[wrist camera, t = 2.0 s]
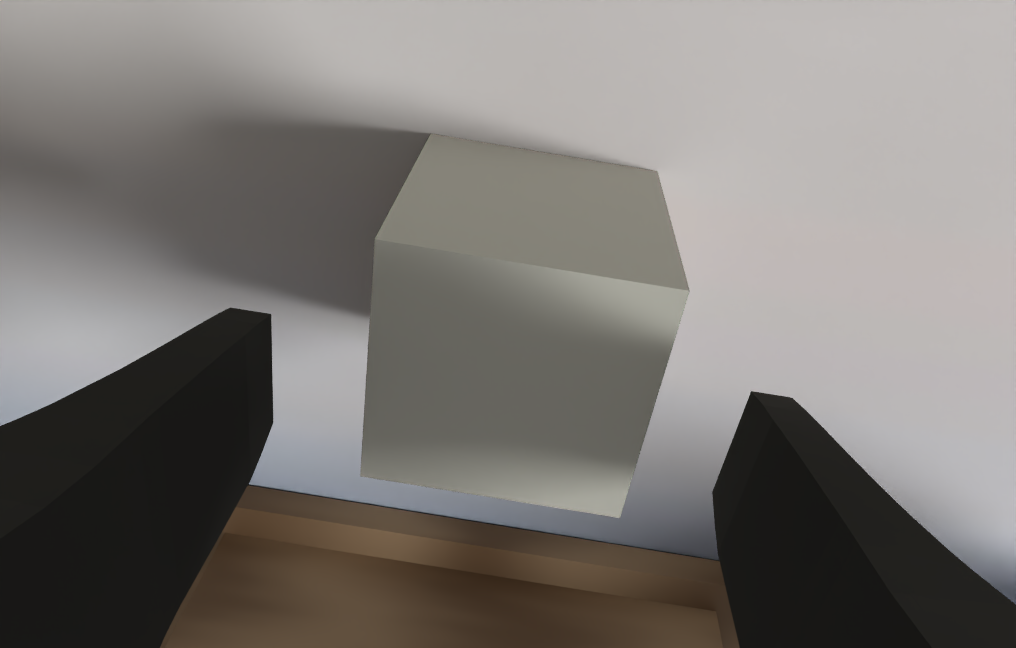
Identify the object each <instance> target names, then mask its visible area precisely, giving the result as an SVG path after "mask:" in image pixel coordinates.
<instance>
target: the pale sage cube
mask: <svg viewBox="0 0 1016 648" xmlns="http://www.w3.org/2000/svg"><path fill="white" fill-rule="evenodd" d="M688 295H689V287H688V283H687V279H686V276H685V272H684V268H683V265H682V261H681V257H680V253H679V250H678V246H677V242H676V239H675V235H674V231H673V227H672V224H671V220H670V216H669V213H668V209H667V205H666V201H665V198H664V194H663V190H662V187H661V183H660V179H659V175H658V172H657V171H653V170H647V169H641V168H635V167H629V166H623V165H617V164H611V163H605V162H599V161H593V160H587V159H581V158H575V157H569V156H563V155H557V154H551V153H545V152H539V151H533V150H527V149H521V148H515V147H509V146H503V145H497V144H491V143H485V142H479V141H473V140H467V139H461V138H455V137H449V136H443V135H437V134H430V136H429V138H428V140H427V142H426V144H425V145H424V147H423V149H422V151H421V153H420V155H419V157H418V159H417V160H416V162H415V164H414V166H413V168H412V170H411V172H410V174H409V175H408V177H407V179H406V181H405V183H404V185H403V187H402V189H401V191H400V192H399V194H398V196H397V198H396V200H395V202H394V204H393V206H392V207H391V209H390V211H389V213H388V215H387V217H386V219H385V221H384V223H383V224H382V226H381V228H380V230H379V232H378V234H377V236H376V238H375V242H374V259H373V275H372V292H371V308H370V325H369V341H368V358H367V374H366V391H365V407H364V424H363V440H362V457H361V474H360V476H361V477H368V478H374V479H380V480H386V481H392V482H399V483H405V484H411V485H417V486H424V487H430V488H436V489H442V490H448V491H455V492H461V493H467V494H473V495H479V496H486V497H492V498H498V499H504V500H510V501H517V502H523V503H529V504H535V505H542V506H548V507H554V508H560V509H566V510H573V511H579V512H585V513H591V514H597V515H604V516H610V517H616V518H620V516H621V513H622V509H623V506H624V503H625V500H626V496H627V493H628V490H629V487H630V483H631V480H632V477H633V474H634V470H635V467H636V464H637V461H638V457H639V454H640V451H641V448H642V444H643V441H644V438H645V434H646V431H647V428H648V425H649V421H650V418H651V415H652V412H653V408H654V405H655V402H656V399H657V395H658V392H659V389H660V386H661V382H662V379H663V376H664V373H665V369H666V366H667V363H668V360H669V356H670V353H671V350H672V347H673V343H674V340H675V337H676V334H677V330H678V327H679V324H680V321H681V317H682V314H683V311H684V308H685V304H686V301H687V298H688Z"/></svg>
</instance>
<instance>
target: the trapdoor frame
mask: <svg viewBox="0 0 1016 648" xmlns="http://www.w3.org/2000/svg"><path fill="white" fill-rule="evenodd" d="M160 648H740V647H739V642H738V638H737V634H736V630H735V626H734V621H733V617H732V613H731V609H730V605H729V600H728V596H727V592H726V587H725V583H724V578H723V574H722V570H721V565H720V561H715V560H709V559H703V558H697V557H690V556H684V555H678V554H672V553H666V552H659V551H653V550H647V549H641V548H634V547H628V546H622V545H616V544H610V543H603V542H597V541H591V540H585V539H578V538H572V537H566V536H560V535H554V534H547V533H541V532H535V531H529V530H523V529H516V528H510V527H504V526H498V525H491V524H485V523H479V522H473V521H467V520H460V519H454V518H448V517H442V516H435V515H429V514H423V513H417V512H411V511H404V510H398V509H392V508H386V507H380V506H373V505H367V504H361V503H355V502H348V501H342V500H336V499H330V498H324V497H317V496H311V495H305V494H299V493H292V492H286V491H280V490H274V489H268V488H261V487H255V486H249V485H248V486H247V488H246V489H245V491H244V493H243V495H242V497H241V499H240V500H239V502H238V504H237V506H236V508H235V509H234V511H233V513H232V515H231V517H230V518H229V520H228V522H227V524H226V526H225V527H224V529H223V531H222V533H221V534H220V536H219V538H218V540H217V542H216V543H215V545H214V547H213V549H212V550H211V552H210V554H209V556H208V557H207V559H206V561H205V563H204V565H203V566H202V568H201V570H200V572H199V573H198V575H197V577H196V579H195V581H194V582H193V584H192V586H191V588H190V589H189V591H188V593H187V595H186V597H185V598H184V600H183V602H182V604H181V605H180V607H179V609H178V611H177V613H176V615H175V617H174V619H173V621H172V623H171V625H170V627H169V629H168V631H167V633H166V635H165V637H164V640H163V642H162V644H161V646H160Z"/></svg>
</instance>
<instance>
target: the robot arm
mask: <svg viewBox="0 0 1016 648" xmlns="http://www.w3.org/2000/svg"><path fill="white" fill-rule="evenodd" d="M272 424H273V387H272V335H271V314H267V313H261V312H254V311H248V310H242V309H236V308H229V309H227V310H225V311H223V312H221V313H219V314H217V315H215V316H213V317H211V318H210V319H208V320H206V321H204V322H203V323H201V324H199V325H197V326H196V327H194V328H192V329H190V330H189V331H187V332H185V333H184V334H182V335H180V336H178V337H177V338H175V339H173V340H171V341H170V342H168V343H166V344H164V345H163V346H161V347H159V348H157V349H156V350H154V351H152V352H150V353H148V354H147V355H145V356H143V357H141V358H140V359H138V360H136V361H134V362H132V363H131V364H129V365H127V366H125V367H123V368H122V369H120V370H118V371H116V372H114V373H112V374H110V375H108V376H106V377H104V378H102V379H100V380H98V381H96V382H94V383H92V384H90V385H88V386H86V387H84V388H82V389H80V390H78V391H76V392H74V393H72V394H70V395H68V396H66V397H64V398H62V399H60V400H58V401H57V402H54V403H52V404H50V405H48V406H46V407H44V408H41V409H39V410H37V411H35V412H33V413H30V414H28V415H26V416H23V417H21V418H19V419H17V420H14V421H12V422H9V423H7V424H4V425H2V426H0V648H160V646H161V644H162V642H163V640H164V637H165V635H166V633H167V631H168V629H169V627H170V625H171V623H172V621H173V619H174V617H175V615H176V613H177V611H178V609H179V607H180V605H181V604H182V602H183V600H184V598H185V597H186V595H187V593H188V591H189V589H190V588H191V586H192V584H193V582H194V581H195V579H196V577H197V575H198V573H199V572H200V570H201V568H202V566H203V565H204V563H205V561H206V559H207V557H208V556H209V554H210V552H211V550H212V549H213V547H214V545H215V543H216V542H217V540H218V538H219V536H220V534H221V533H222V531H223V529H224V527H225V526H226V524H227V522H228V520H229V518H230V517H231V515H232V513H233V511H234V509H235V508H236V506H237V504H238V502H239V500H240V499H241V497H242V495H243V493H244V491H245V489H246V488H247V486H248V484H249V482H250V480H251V478H252V476H253V473H254V471H255V468H256V466H257V463H258V461H259V458H260V456H261V453H262V451H263V448H264V446H265V443H266V440H267V438H268V435H269V432H270V430H271V427H272ZM712 493H713V506H714V519H715V530H716V540H717V549H718V556H719V560H720V565H721V570H722V574H723V578H724V583H725V587H726V592H727V596H728V600H729V605H730V609H731V613H732V617H733V621H734V626H735V630H736V634H737V638H738V642H739V647H740V648H1016V604H1014V603H1013V602H1012V601H1010V600H1009V599H1008V598H1007V597H1005V596H1004V595H1003V594H1002V593H1000V592H999V591H998V590H997V589H995V588H994V587H993V586H992V585H990V584H989V583H988V582H987V581H985V580H984V579H983V578H981V577H980V576H979V575H978V574H976V573H975V572H974V571H973V570H971V569H970V568H969V567H968V566H967V565H966V564H964V563H963V562H962V561H961V560H960V559H958V558H957V557H956V556H955V555H954V554H953V553H951V552H950V551H949V550H948V549H947V548H946V547H945V546H944V545H942V544H941V543H940V542H939V541H938V540H937V539H936V538H935V537H934V536H932V535H931V534H930V533H929V532H928V531H927V530H926V529H925V528H924V527H923V526H921V525H920V524H919V523H918V522H917V521H916V520H915V519H914V518H913V517H912V516H910V515H909V514H908V513H907V512H906V511H905V510H904V509H903V508H902V507H901V506H900V505H899V504H898V503H897V502H896V501H895V500H894V499H893V498H892V497H891V496H890V495H889V494H888V493H887V492H886V491H885V490H884V489H882V488H881V487H880V486H879V485H878V484H877V483H876V482H875V481H874V480H873V479H872V478H871V477H870V476H869V475H868V474H867V473H866V472H865V470H864V469H863V468H862V467H861V466H860V465H859V464H858V463H857V462H856V461H855V460H854V459H853V458H852V457H851V456H850V455H849V454H848V453H847V452H846V451H845V450H844V449H843V448H842V447H841V446H840V445H839V444H838V443H837V442H836V441H835V440H834V439H833V438H832V437H831V436H830V435H829V434H828V432H827V431H826V430H825V429H824V428H823V427H822V426H821V425H820V424H819V423H818V422H817V421H816V420H815V419H814V418H813V417H812V416H811V415H810V414H809V413H808V412H807V411H806V410H805V409H804V408H803V407H801V406H800V405H799V404H798V403H797V402H796V401H795V400H794V399H793V398H790V397H784V396H778V395H771V394H765V393H759V392H753V391H751V393H750V396H749V399H748V401H747V404H746V406H745V409H744V412H743V414H742V417H741V419H740V422H739V425H738V427H737V430H736V432H735V435H734V438H733V440H732V443H731V445H730V448H729V451H728V453H727V456H726V458H725V461H724V464H723V466H722V469H721V471H720V474H719V476H718V479H717V482H716V484H715V487H714V489H713V492H712Z"/></svg>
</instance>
